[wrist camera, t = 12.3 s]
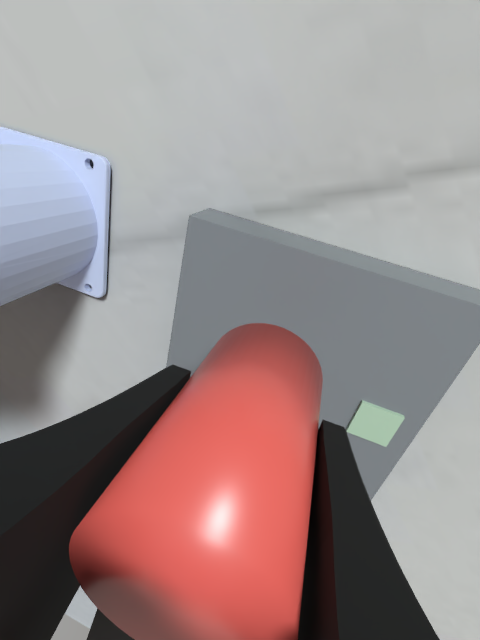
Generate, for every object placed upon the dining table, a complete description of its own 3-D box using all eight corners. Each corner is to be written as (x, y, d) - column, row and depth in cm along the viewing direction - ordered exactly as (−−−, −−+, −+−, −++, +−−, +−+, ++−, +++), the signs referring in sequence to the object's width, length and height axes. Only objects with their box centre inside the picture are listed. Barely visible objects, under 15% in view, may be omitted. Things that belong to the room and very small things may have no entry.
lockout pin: (203, 402, 13) (73, 612, 7) (218, 308, 11) (62, 474, 5) (304, 437, 12) (266, 707, 6) (338, 343, 10) (332, 585, 4)
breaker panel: (161, 480, 27) (143, 510, 25) (209, 208, 17) (187, 216, 14) (315, 548, 25) (312, 587, 23) (479, 289, 15) (503, 314, 13)
